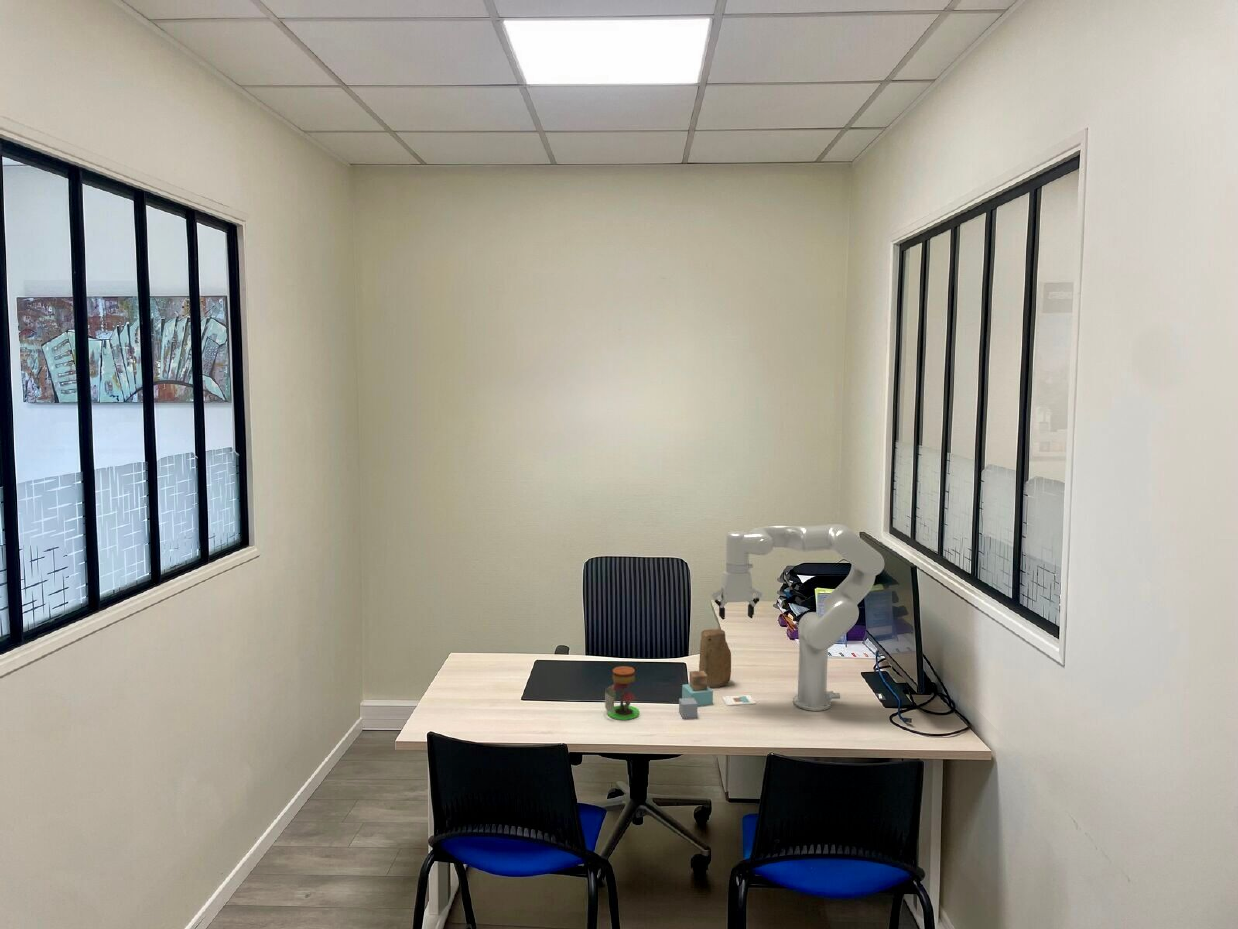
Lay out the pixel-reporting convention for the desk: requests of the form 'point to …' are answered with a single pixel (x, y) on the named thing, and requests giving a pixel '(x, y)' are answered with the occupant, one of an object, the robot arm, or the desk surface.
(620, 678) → the green-based stack
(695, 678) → the walnut cube
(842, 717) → the desk surface
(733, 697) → the card
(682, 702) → the slate grey cube
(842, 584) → the robot arm
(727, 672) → the brown piece
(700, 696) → the teal base block
